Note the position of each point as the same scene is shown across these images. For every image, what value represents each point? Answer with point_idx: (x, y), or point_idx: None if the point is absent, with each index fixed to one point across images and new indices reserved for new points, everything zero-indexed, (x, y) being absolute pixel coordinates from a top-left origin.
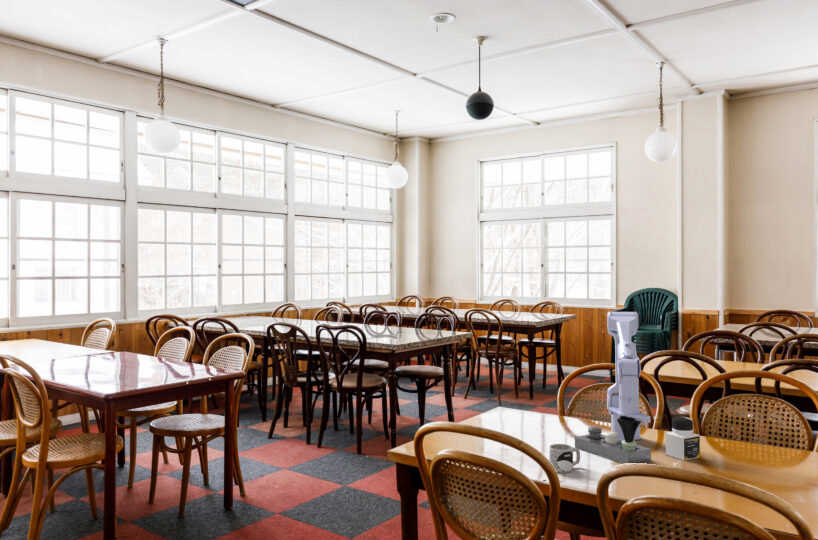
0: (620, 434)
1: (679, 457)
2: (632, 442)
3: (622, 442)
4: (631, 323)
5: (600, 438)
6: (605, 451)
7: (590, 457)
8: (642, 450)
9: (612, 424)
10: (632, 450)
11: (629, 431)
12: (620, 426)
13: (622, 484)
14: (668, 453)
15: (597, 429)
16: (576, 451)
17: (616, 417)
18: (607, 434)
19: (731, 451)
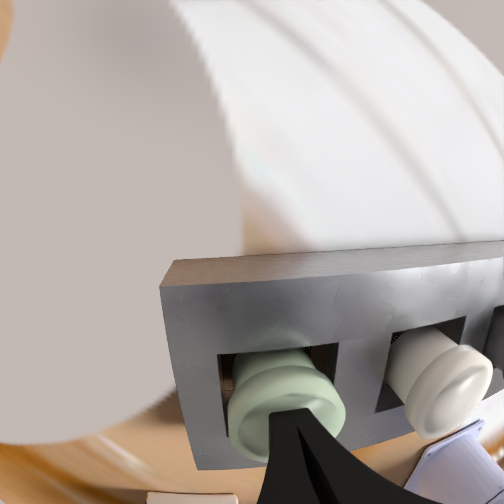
0: (449, 459)
1: (167, 497)
2: (253, 435)
3: (314, 383)
4: None
5: (487, 354)
6: (384, 259)
7: (411, 177)
8: (189, 426)
9: (489, 460)
10: (235, 388)
11: (260, 497)
12: (398, 487)
13: (5, 33)
14: (221, 500)
15: None
16: None
17: (491, 487)
18: (468, 361)
19: None
